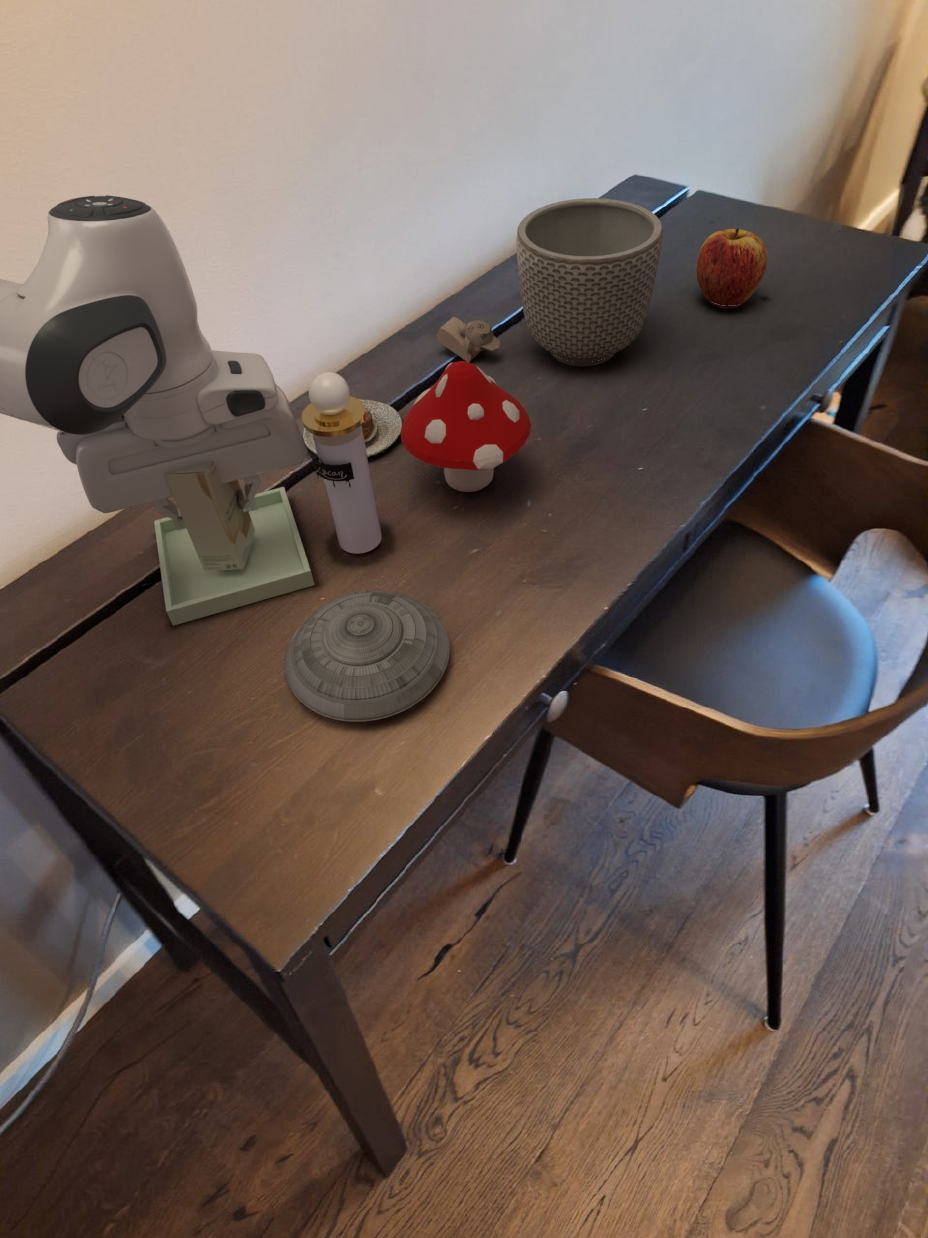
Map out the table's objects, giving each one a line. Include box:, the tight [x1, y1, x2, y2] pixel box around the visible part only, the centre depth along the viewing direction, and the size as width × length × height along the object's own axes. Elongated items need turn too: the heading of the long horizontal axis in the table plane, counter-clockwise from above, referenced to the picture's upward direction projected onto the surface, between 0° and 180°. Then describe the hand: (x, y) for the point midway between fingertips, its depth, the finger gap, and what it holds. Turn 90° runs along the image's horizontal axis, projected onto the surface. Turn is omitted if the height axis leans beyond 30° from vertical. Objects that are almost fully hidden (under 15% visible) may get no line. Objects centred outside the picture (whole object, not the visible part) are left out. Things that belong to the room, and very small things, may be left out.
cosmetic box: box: [164, 462, 255, 571], centre depth 79 cm, size 6×4×12 cm
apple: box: [695, 228, 768, 310], centre depth 110 cm, size 9×9×10 cm
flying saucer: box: [284, 589, 451, 723], centre depth 73 cm, size 15×15×6 cm
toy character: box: [435, 316, 502, 363], centre depth 107 cm, size 4×8×6 cm, turn 58°
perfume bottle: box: [301, 371, 383, 554], centre depth 78 cm, size 6×6×20 cm
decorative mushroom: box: [400, 360, 532, 493], centre depth 85 cm, size 14×14×15 cm
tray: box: [153, 486, 316, 626], centre depth 84 cm, size 14×14×2 cm
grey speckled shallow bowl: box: [302, 398, 403, 458], centre depth 97 cm, size 12×12×5 cm
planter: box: [515, 197, 664, 368], centre depth 102 cm, size 17×17×16 cm
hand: (217, 516), depth 80 cm, fingers closed on cosmetic box, 5 cm apart
